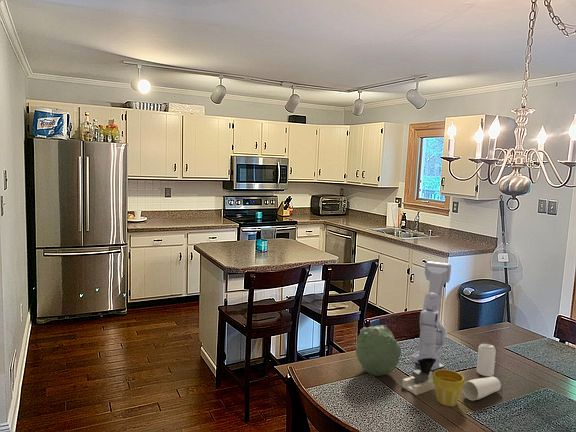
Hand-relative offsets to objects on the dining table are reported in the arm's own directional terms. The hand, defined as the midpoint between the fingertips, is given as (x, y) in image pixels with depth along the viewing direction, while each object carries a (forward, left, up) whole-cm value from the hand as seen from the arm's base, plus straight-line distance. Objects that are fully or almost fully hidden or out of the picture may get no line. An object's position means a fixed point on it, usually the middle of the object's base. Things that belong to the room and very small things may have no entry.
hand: (424, 375), depth 168 cm
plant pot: (+12, -2, -4) cm, 13 cm away
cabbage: (-16, -9, -4) cm, 19 cm away
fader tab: (0, -3, -2) cm, 4 cm away
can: (+5, +31, -4) cm, 31 cm away
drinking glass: (+15, +21, -1) cm, 26 cm away
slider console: (0, -1, -4) cm, 4 cm away
